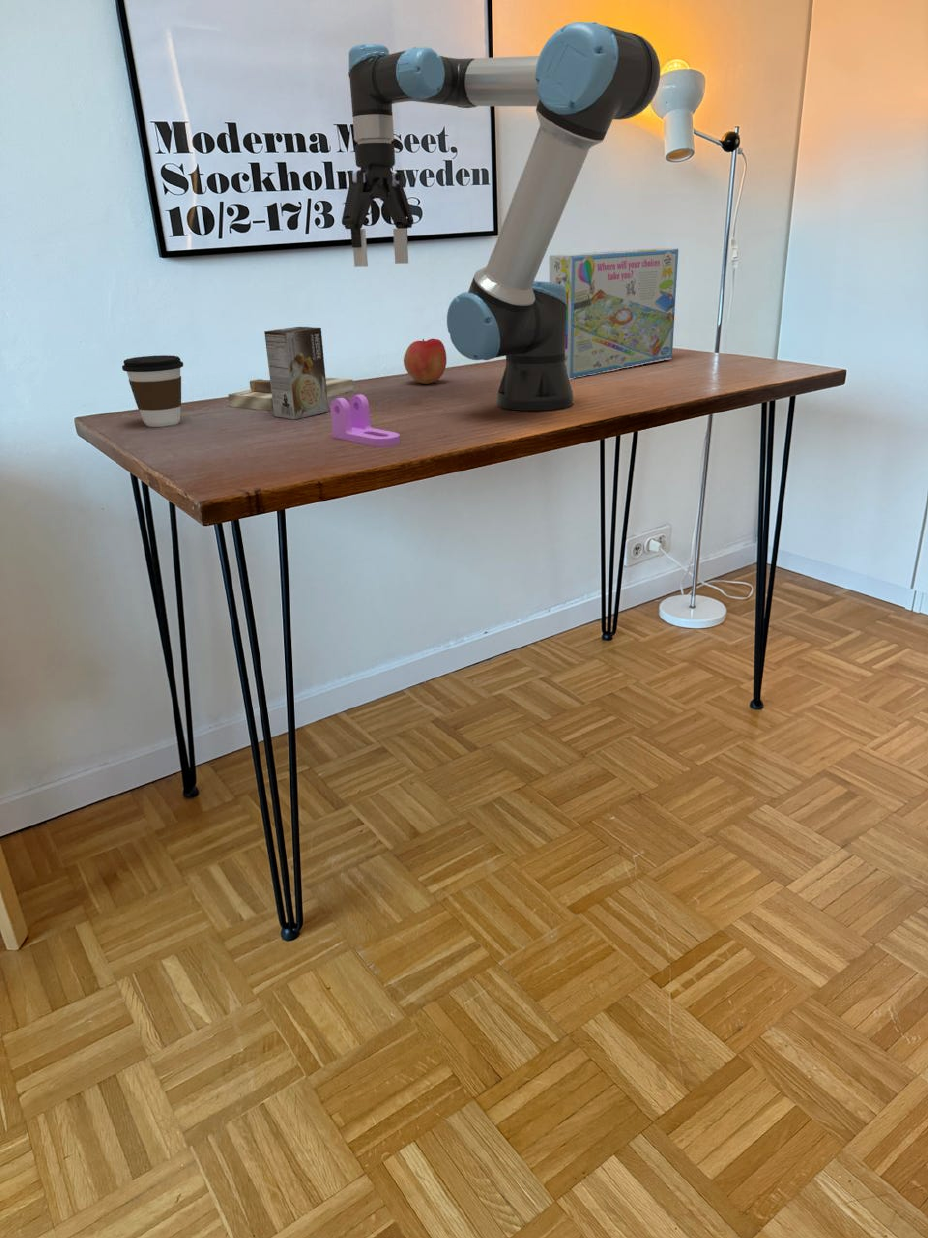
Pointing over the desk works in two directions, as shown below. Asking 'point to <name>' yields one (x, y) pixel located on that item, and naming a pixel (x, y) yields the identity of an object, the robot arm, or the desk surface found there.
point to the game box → (617, 307)
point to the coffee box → (296, 372)
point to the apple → (425, 360)
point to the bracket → (358, 423)
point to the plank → (265, 398)
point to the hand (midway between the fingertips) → (382, 265)
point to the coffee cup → (156, 388)
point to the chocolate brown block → (260, 385)
